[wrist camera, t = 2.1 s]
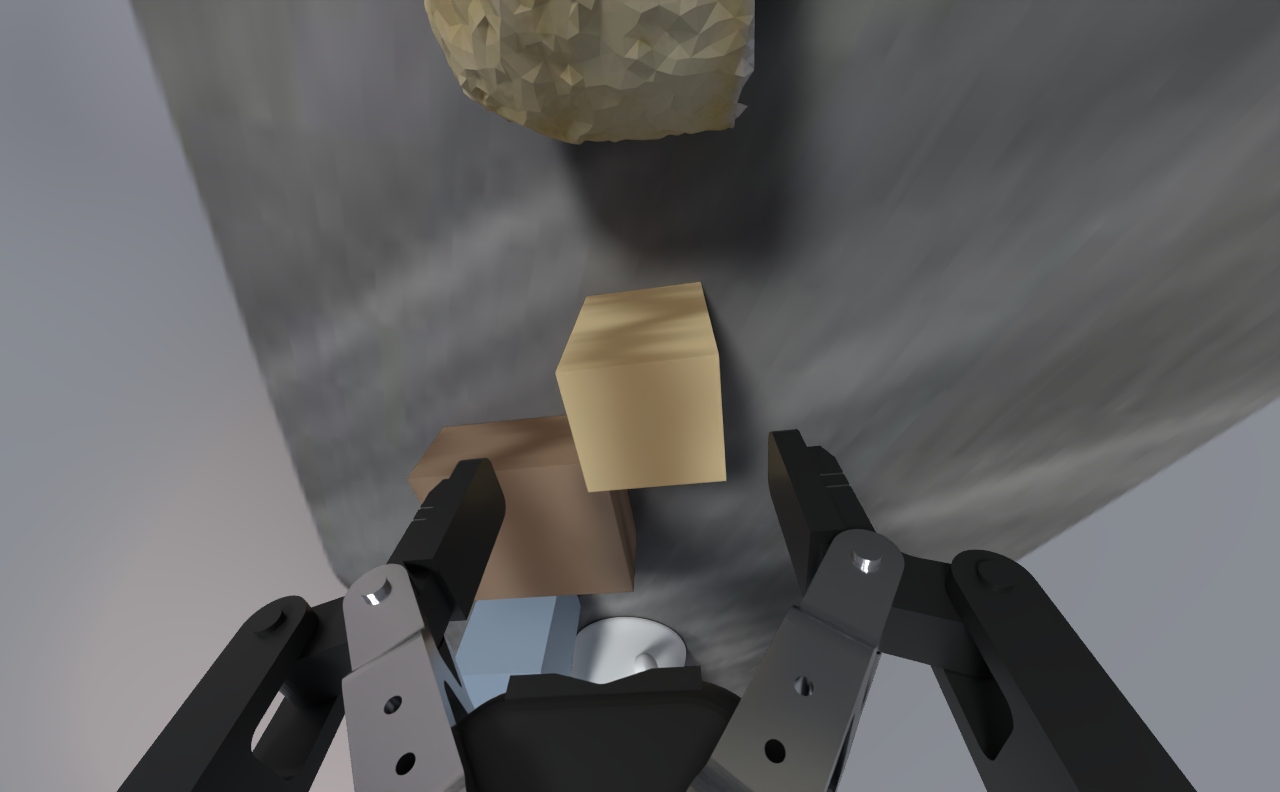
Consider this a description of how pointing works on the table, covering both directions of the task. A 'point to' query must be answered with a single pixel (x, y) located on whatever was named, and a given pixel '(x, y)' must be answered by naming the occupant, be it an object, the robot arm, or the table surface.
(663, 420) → the oak block
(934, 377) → the table surface
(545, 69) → the coral
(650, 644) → the mug
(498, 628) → the slate block
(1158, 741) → the robot arm
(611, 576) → the walnut slab
